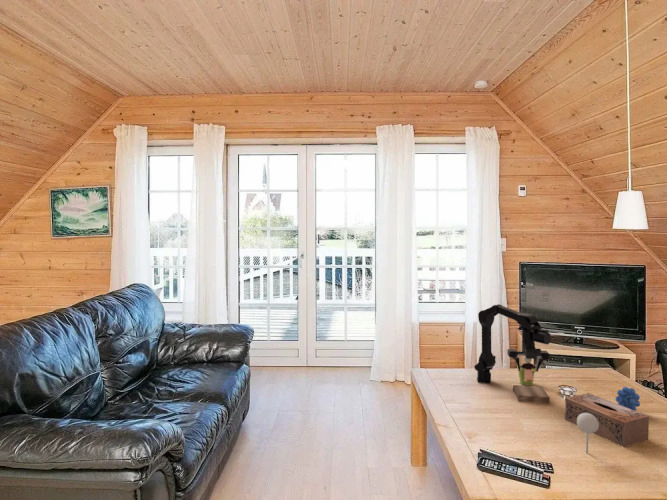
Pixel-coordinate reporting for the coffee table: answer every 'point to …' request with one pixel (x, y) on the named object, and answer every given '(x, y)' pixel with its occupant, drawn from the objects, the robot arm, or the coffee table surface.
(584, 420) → the lollipop
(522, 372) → the plant pot
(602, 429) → the tissue box cover
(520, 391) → the walnut base
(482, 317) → the robot arm
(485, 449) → the coffee table surface
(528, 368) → the grandmother figurine
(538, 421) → the coffee table surface
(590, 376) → the coffee table surface
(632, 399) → the blue flower
